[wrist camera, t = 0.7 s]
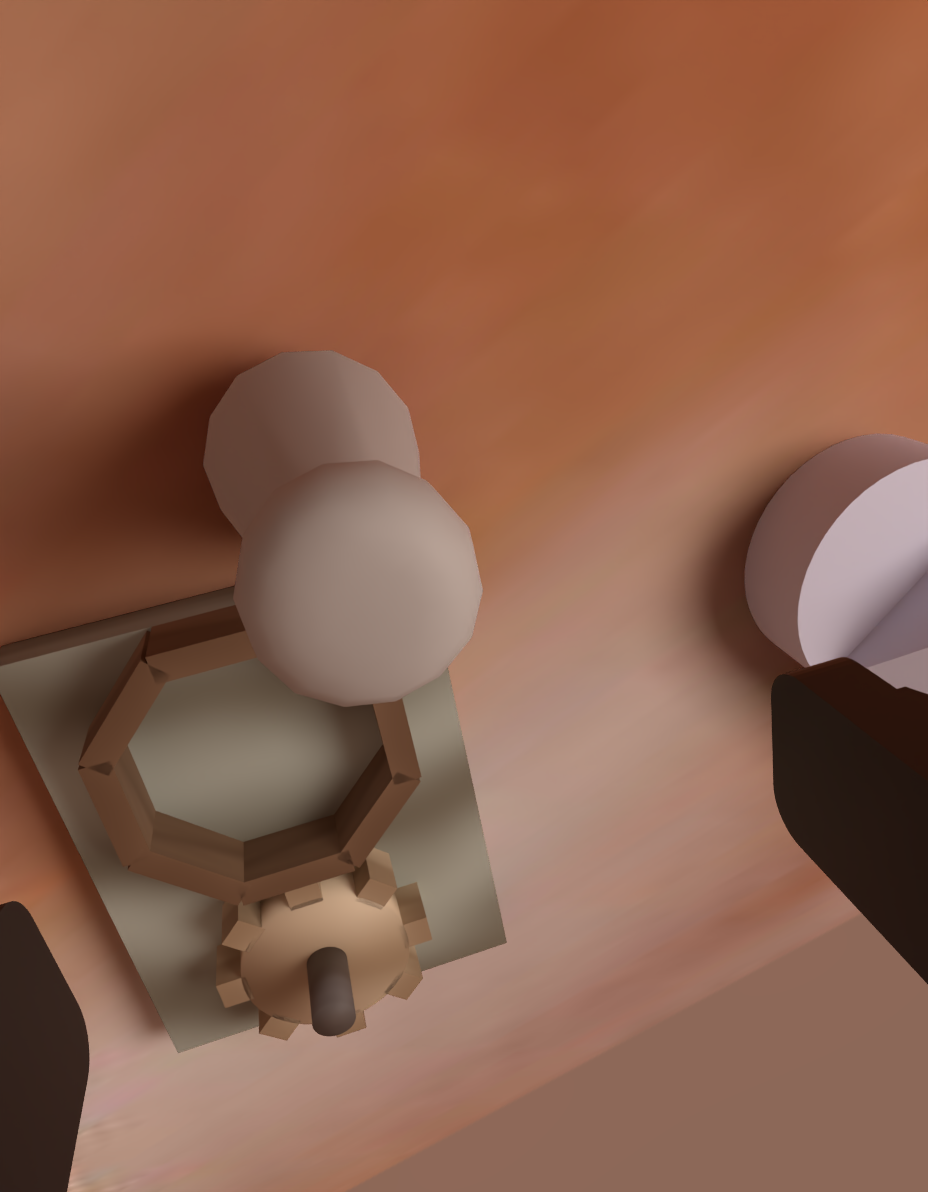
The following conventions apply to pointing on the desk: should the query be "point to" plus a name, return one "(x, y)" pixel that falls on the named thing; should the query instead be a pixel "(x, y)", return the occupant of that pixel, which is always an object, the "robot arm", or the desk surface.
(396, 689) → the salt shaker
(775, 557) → the wedge on round base
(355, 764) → the peg board
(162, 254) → the desk surface
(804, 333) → the desk surface
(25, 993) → the robot arm
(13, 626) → the desk surface
